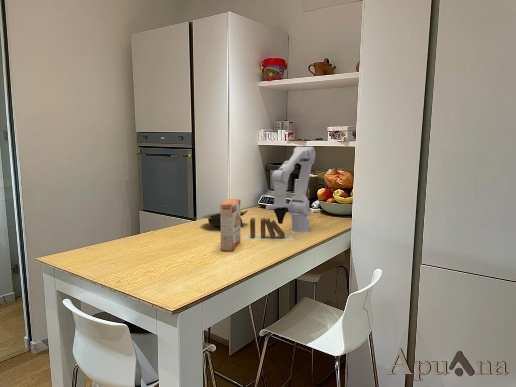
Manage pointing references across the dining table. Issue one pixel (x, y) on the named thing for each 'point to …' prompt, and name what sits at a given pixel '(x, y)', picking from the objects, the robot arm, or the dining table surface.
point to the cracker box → (230, 224)
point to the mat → (268, 237)
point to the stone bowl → (219, 218)
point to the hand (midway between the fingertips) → (280, 223)
